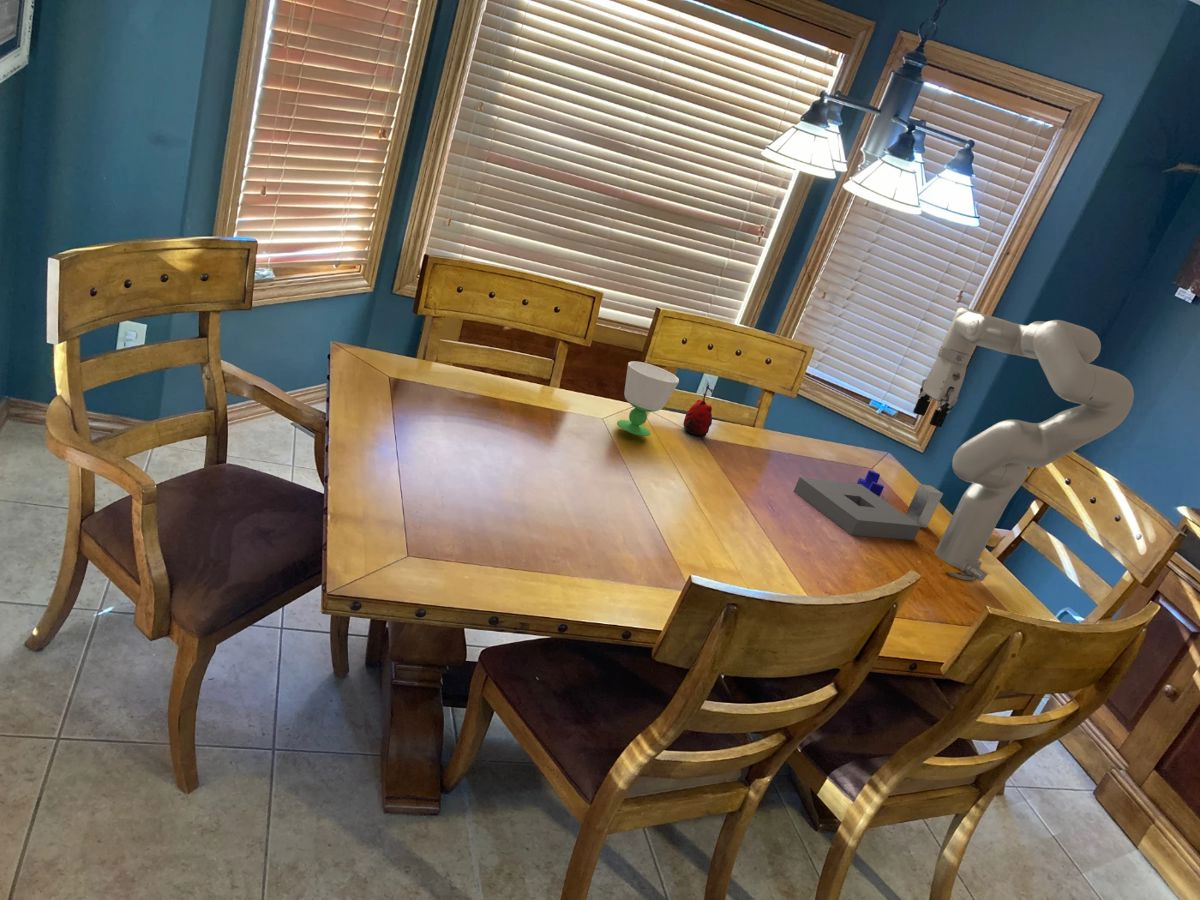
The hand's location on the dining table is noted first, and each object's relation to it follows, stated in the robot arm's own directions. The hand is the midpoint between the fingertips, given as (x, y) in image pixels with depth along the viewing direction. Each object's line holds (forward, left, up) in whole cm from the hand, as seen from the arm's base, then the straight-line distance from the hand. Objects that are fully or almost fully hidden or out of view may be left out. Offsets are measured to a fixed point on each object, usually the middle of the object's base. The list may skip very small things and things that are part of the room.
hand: (926, 419), depth 242 cm
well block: (-8, +20, -25) cm, 33 cm away
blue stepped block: (+5, +3, -26) cm, 26 cm away
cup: (+32, +63, -26) cm, 75 cm away
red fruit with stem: (+36, +41, -26) cm, 60 cm away
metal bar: (-9, -2, -25) cm, 27 cm away
